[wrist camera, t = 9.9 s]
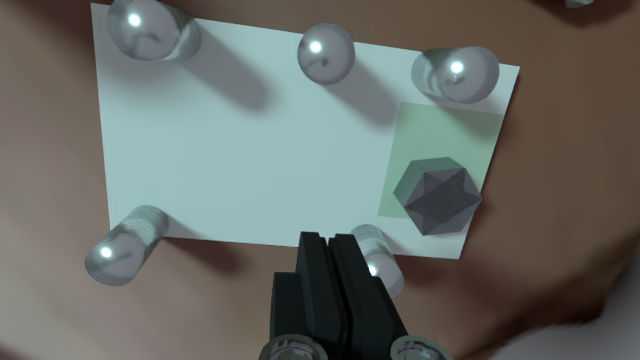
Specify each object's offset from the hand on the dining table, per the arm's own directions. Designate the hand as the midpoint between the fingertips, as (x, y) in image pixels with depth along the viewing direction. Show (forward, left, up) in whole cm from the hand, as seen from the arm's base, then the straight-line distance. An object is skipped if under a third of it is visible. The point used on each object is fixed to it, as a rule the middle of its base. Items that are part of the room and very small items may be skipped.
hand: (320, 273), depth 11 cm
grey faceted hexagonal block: (-1, -9, -12) cm, 15 cm away
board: (+1, 0, -13) cm, 13 cm away
